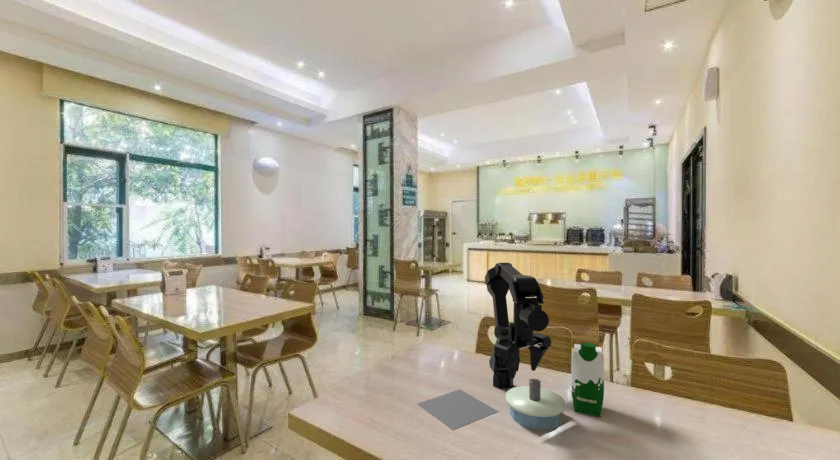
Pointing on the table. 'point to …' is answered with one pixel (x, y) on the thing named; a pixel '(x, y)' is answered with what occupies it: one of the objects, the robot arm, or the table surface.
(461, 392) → the mat
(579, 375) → the milk carton
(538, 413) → the lid
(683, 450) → the table surface
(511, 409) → the ring
